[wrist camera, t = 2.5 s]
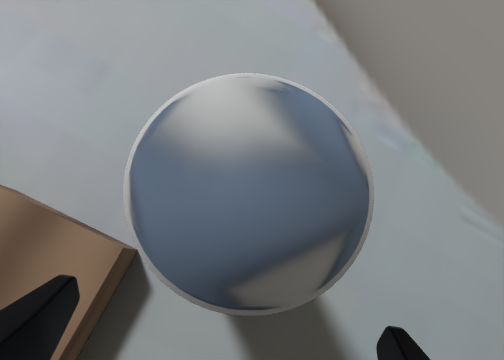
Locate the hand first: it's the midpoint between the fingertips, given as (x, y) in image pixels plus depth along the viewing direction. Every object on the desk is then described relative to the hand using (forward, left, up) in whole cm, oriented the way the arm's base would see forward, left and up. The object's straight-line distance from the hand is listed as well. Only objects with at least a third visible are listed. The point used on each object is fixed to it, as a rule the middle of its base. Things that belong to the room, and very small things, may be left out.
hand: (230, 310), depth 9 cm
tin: (+1, -3, -10) cm, 11 cm away
